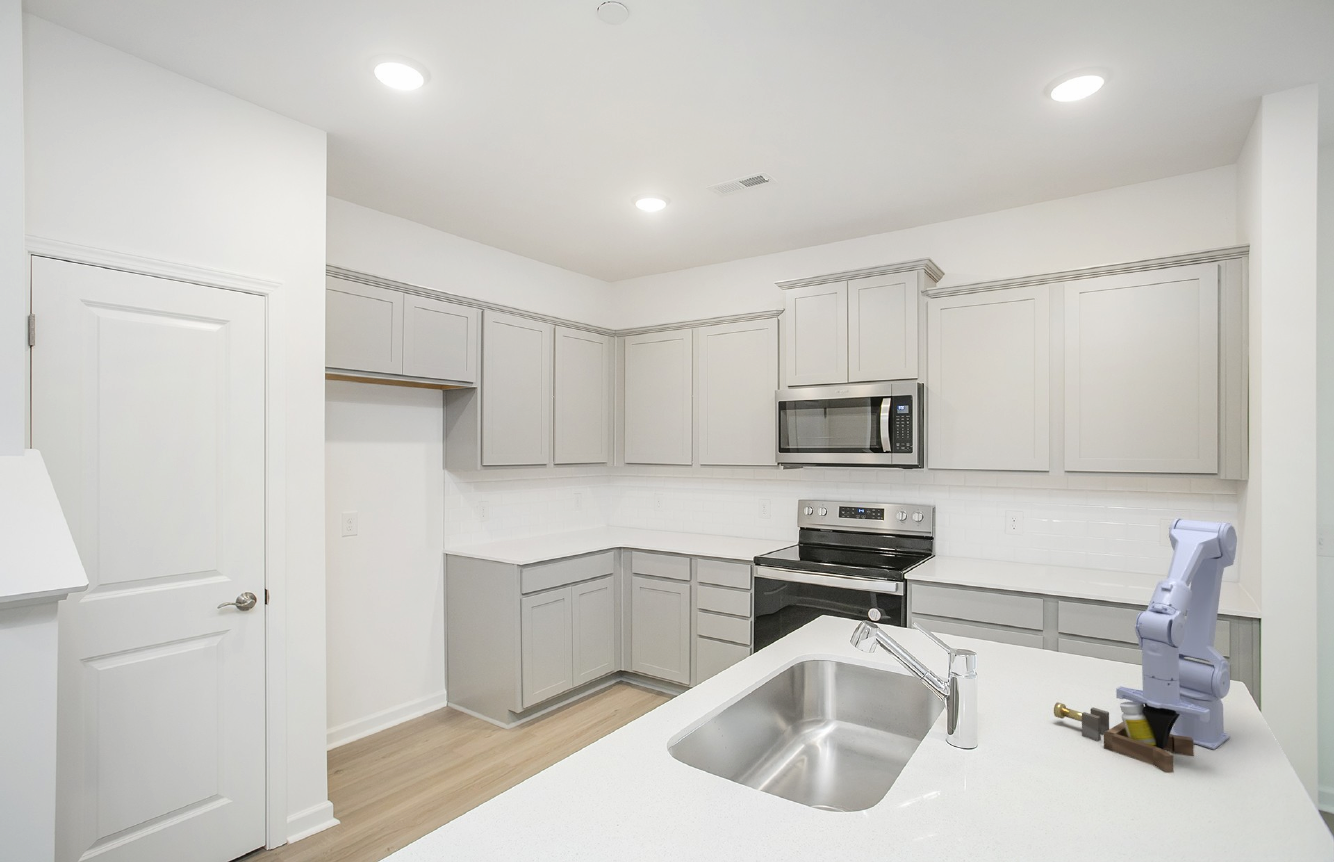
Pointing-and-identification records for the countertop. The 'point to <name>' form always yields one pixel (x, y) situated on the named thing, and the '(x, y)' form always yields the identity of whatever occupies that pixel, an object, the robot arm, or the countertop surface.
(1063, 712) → the lock pin
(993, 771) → the countertop surface
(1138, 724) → the supplement bottle
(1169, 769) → the dock
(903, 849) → the countertop surface
